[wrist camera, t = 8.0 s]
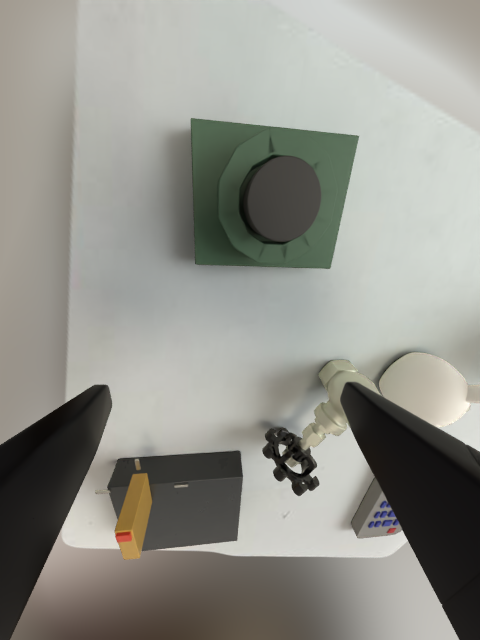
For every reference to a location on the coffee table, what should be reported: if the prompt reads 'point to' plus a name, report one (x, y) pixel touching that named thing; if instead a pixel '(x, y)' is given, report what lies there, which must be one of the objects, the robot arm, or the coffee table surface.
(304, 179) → the button
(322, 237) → the button box
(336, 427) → the valve
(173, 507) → the panel
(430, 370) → the figurine
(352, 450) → the coffee table surface
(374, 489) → the remote control
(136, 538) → the tap handle
